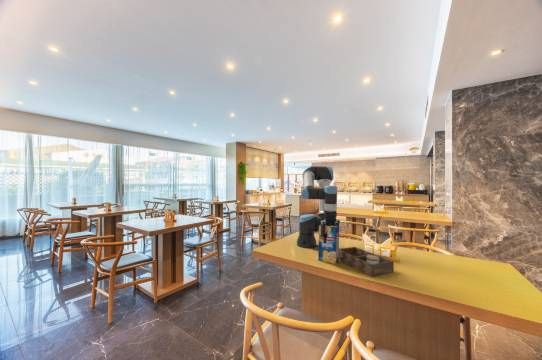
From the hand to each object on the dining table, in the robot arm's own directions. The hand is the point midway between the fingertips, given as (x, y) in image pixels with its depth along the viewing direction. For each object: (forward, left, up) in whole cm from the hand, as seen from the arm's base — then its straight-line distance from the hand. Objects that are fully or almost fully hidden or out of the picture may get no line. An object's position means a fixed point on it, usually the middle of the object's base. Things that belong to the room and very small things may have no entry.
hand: (329, 247), depth 135 cm
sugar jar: (+20, +14, -8) cm, 26 cm away
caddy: (+13, +14, -8) cm, 21 cm away
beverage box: (-1, 0, -8) cm, 8 cm away
